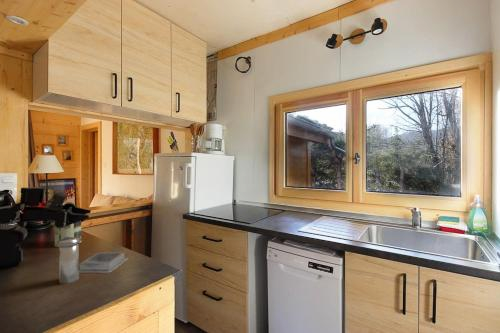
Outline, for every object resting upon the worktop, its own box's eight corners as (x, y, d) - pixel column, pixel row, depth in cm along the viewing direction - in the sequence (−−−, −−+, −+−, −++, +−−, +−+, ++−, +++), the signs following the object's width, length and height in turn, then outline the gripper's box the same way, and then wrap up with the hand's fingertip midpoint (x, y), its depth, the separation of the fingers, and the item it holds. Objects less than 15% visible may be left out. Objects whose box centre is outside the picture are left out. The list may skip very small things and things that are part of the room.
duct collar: (75, 272, 84) (75, 264, 84) (97, 258, 96) (97, 251, 96) (110, 272, 84) (110, 264, 84) (127, 258, 96) (127, 251, 96)
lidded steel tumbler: (57, 286, 74) (56, 243, 74) (58, 278, 79) (58, 238, 79) (80, 281, 78) (79, 240, 78) (80, 274, 82) (79, 235, 82)
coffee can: (75, 238, 122) (75, 210, 121) (85, 242, 116) (85, 212, 116) (50, 244, 113) (49, 214, 113) (59, 248, 107) (59, 216, 107)
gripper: (37, 197, 87) (89, 198, 94) (49, 189, 103) (93, 191, 110) (34, 229, 87) (86, 227, 94) (46, 216, 103) (90, 215, 111)
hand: (89, 214), depth 102 cm, fingers open, 9 cm apart
